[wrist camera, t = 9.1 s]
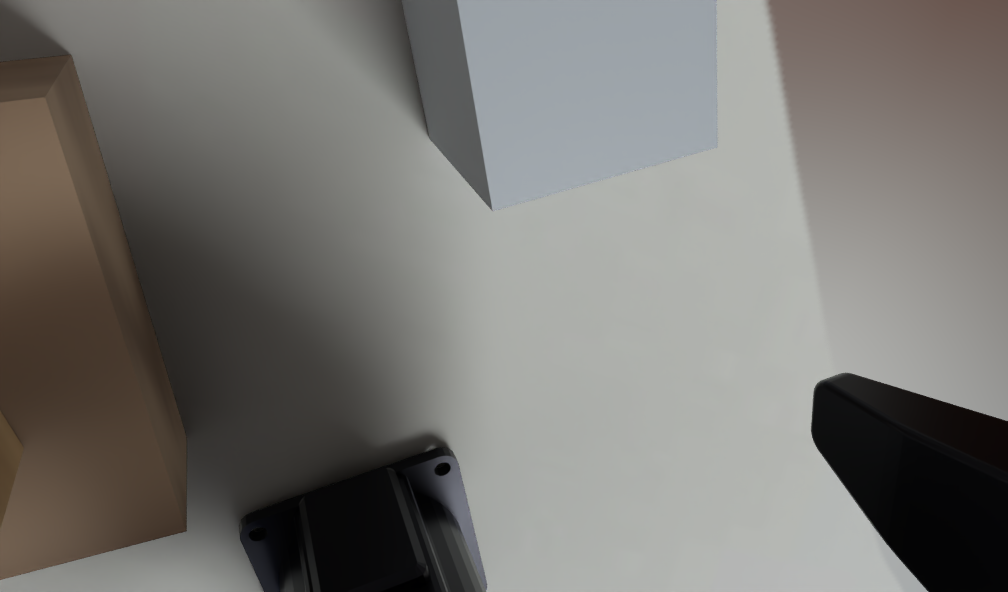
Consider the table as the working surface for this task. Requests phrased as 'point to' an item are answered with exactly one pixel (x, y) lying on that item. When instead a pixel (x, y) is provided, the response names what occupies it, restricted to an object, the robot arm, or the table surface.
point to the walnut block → (75, 342)
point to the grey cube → (563, 88)
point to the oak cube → (8, 462)
